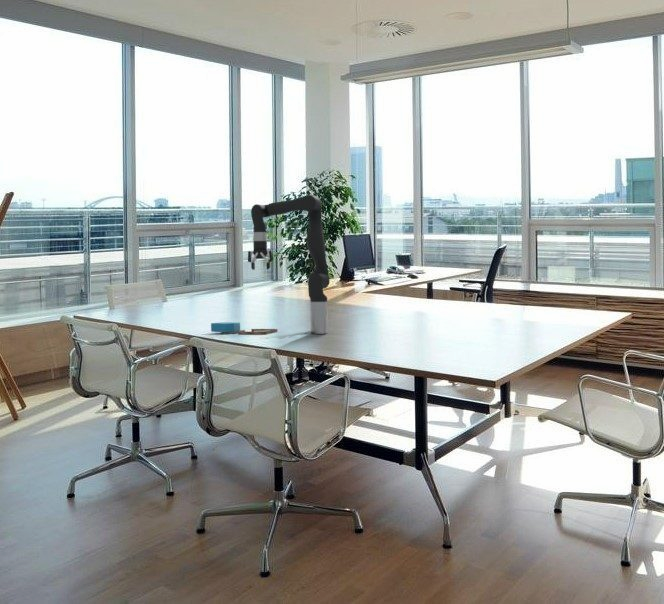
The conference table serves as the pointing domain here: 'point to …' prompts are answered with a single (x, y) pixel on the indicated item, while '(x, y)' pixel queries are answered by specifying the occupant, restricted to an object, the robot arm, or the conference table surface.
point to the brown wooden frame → (258, 332)
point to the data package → (225, 327)
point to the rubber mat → (232, 332)
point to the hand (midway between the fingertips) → (260, 269)
